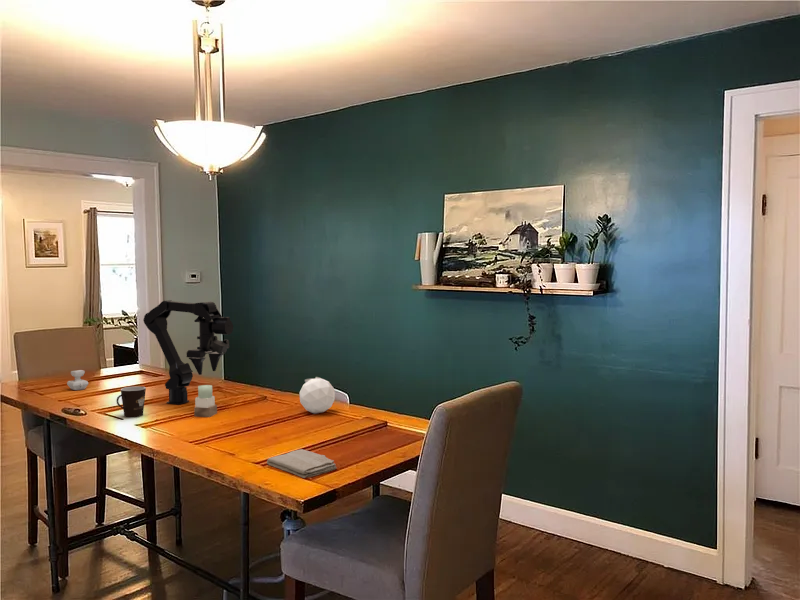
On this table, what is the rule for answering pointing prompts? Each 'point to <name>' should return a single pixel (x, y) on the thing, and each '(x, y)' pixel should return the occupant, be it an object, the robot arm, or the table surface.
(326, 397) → the geodesic sphere
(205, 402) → the tower top block
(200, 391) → the grey domed cylinder
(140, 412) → the coffee mug
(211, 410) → the tower base block
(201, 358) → the robot arm
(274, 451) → the table surface
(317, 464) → the washcloth
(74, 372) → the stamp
